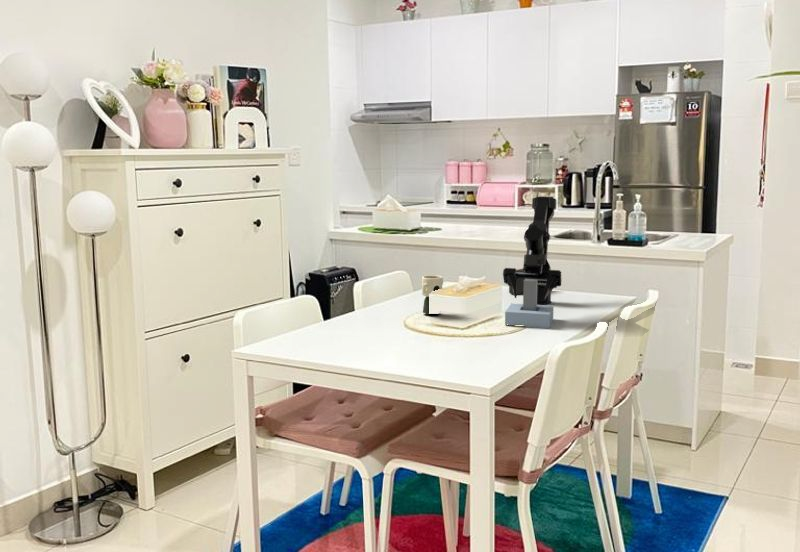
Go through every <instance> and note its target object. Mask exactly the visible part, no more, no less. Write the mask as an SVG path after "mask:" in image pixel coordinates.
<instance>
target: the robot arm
mask: <svg viewBox="0 0 800 552" xmlns="http://www.w3.org/2000/svg"><path fill="white" fill-rule="evenodd" d="M531 201H532V202H531V203H532V204H531V205H532V206H531V208H532V209H533V212H534V213H533V214H534V215H533V221H532V222H531V223H530V224H529V225H528V227H527V229H526V230H525V232H524V235H523V239H524V240H523V241H524V242H525V248H526V254H524V257H523V267H522V269H523V270H524V273H522V272H516V270H517V268H515V267H504V269H503V270H502V271H503V272H502V277H503V278H502V279H503V282H504V284H506V285H507V286H508V287H509V286H511V287H512V289H513V292H514V295H513V296H514V299H517V296H518V295H517V283H516V280H517V279H538V283H537V305H548V304H551V303H552V300H551V298H552V295H551V294H552V291H553V289H556V288H558V287H561V286H562V271H561V270H559V269H551V265H550V263H549V261H548V249H549V248H548V247H549V242H550V240H551V235H550V221H551V220H552V218H553V217H554V216H555V210H557V204H558V202H557V198H554V196H542V195H541V196H535V197H532V199H531Z"/></svg>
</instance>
